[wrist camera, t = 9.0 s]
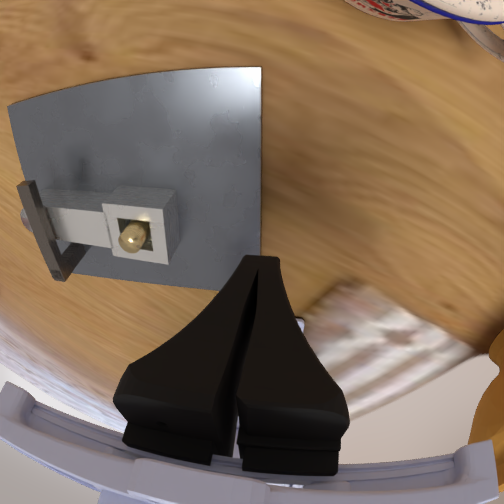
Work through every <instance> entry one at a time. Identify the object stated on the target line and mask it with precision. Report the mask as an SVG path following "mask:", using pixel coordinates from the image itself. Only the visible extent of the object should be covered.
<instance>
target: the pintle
mask: <svg viewBox="0 0 504 504" xmlns="http://www.w3.org/2000/svg"><path fill="white" fill-rule="evenodd" d="M150 233H151V230H150V223H149V221H142V220H133V219H132V220H131V221H130V223H129V224H128V225H127V227H126V228H125V229H124V231H123V232H122V233H121V235H120V236H119V238H118V242H119V245H120V247H121V248H122V249H123V250H124V251H126V252H128V253H137V252H138V251H139V250H140V248H141V247H142V245H143V244H144V242H145V240H146V239H147V237H148V236H149V234H150Z"/></svg>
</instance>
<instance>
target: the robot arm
mask: <svg viewBox="0 0 504 504" xmlns="http://www.w3.org/2000/svg"><path fill="white" fill-rule="evenodd" d="M303 330H304V320H302V319H297V318H295V316H294V313H293V311H292V308H291V306H290V303H289V300H288V297H287V294H286V291H285V287H284V284H283V280H282V275H281V269H280V259H279V258H278V257H272V256H259V255H245V256H243V258H242V260H241V262H240V263H239V265H238V267H237V268H236V270H235V271H234V273H233V274H232V276H231V277H230V278H229V280H228V281H227V282H226V284H225V285H224V286H223V288H222V289H221V290H220V292H219V293H218V294H217V295H216V296H215V297H214V299H213V300H212V301H211V302H210V303H209V304H208V305H207V307H206V308H205V309H204V310H203V311H202V312H201V313H200V314H199V315H198V316H197V317H196V318H195V319H194V320H192V321H191V322H190V323H189V324H188V325H187V326H186V327H185V328H183V329H182V330H181V331H180V332H179V333H177V334H176V335H175V336H174V337H172V338H171V339H169V340H168V341H167V342H165V343H164V344H162V345H161V346H160V347H158V348H157V349H155V350H154V351H152V352H151V353H149V354H147V355H145V356H144V357H142V358H140V359H138V360H137V361H135V362H133V363H131V364H129V365H128V367H127V369H126V371H125V372H124V374H123V376H122V378H121V379H120V382H119V384H118V387H117V389H116V392H115V394H114V397H113V403H114V404H115V406H116V408H117V409H118V410H119V412H120V413H121V414H122V415H123V417H124V418H125V419H126V420H127V421H128V423H127V426H126V429H125V432H124V434H123V433H120V432H117V431H113V430H110V429H107V428H104V427H101V426H98V425H95V424H92V423H90V422H87V421H84V420H81V419H79V418H76V417H73V416H71V415H68V414H66V413H63V412H61V411H58V410H56V409H54V408H51V407H49V406H47V405H44V404H42V403H40V402H38V401H36V400H35V398H34V397H33V396H32V395H31V394H30V393H28V392H27V391H25V390H24V389H22V388H20V387H18V386H16V385H14V384H12V383H10V382H8V381H7V382H6V383H5V385H4V387H3V388H2V391H1V393H0V439H1V440H2V441H4V442H6V443H7V444H8V445H10V446H11V447H13V448H14V449H16V450H17V451H19V452H20V453H22V454H24V455H26V456H27V457H29V458H31V459H33V460H34V461H36V462H38V463H40V464H42V465H43V466H45V467H47V468H49V469H51V470H53V471H55V472H57V473H59V474H61V475H63V476H65V477H67V478H69V479H71V480H73V481H75V482H78V483H80V484H82V485H85V486H86V487H89V488H91V489H93V490H96V491H99V492H101V494H100V497H99V500H98V504H484V503H487V502H489V501H492V500H494V499H497V498H498V497H499V488H498V478H497V470H496V462H495V456H494V449H493V443H492V440H490V439H489V440H485V441H481V442H476V443H472V444H468V445H465V446H463V447H461V448H459V449H458V450H457V451H455V453H452V454H447V455H441V456H435V457H428V458H421V459H413V460H404V461H395V462H382V463H367V464H338V457H339V451H340V449H341V437H342V436H343V435H344V433H345V432H346V430H347V429H348V427H349V424H350V420H349V412H348V408H347V404H346V400H345V397H344V394H343V391H342V390H341V388H340V387H339V386H338V385H337V384H336V382H335V381H334V380H333V379H332V377H331V376H330V375H329V374H328V372H327V371H326V369H325V368H324V367H323V365H322V364H321V363H320V361H319V359H318V358H317V356H316V355H315V353H314V352H313V350H312V348H311V347H310V345H309V344H308V342H307V340H306V338H305V336H304V334H303Z"/></svg>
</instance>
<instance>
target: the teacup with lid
mask: <svg viewBox="0 0 504 504" xmlns="http://www.w3.org/2000/svg"><path fill="white" fill-rule="evenodd" d="M344 1H346V2H347V3H349V4H350V5H352V6H354V7H355V8H357V9H359V10H361V11H363V12H365V13H368V14H370V15H373V16H376V17H379V18H383V19H387V20H392V21H406V22H408V21H420V20H434V19H454V20H456V21H457V22H458V23H459V24H460V26H461V27H462V28H463V29H464V30H465V31H466V32H467V34H468V35H469V36H470V37H471V38H472V39H473V40H474V41H475V42H476V43H478V44H479V45H480V46H481V47H482V48H483V49H485V50H486V51H487V52H489V53H490V54H491V55H493V56H494V57H496V58H497V59H499V60H501V61H502V62H504V40H503V39H501V38H500V37H498V36H497V35H495V34H494V33H493V32H492V31H490V30H489V29H488V28H487V27H486V26H485V25H495V24H500V25H501V26H502V28H503V29H504V0H344Z"/></svg>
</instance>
